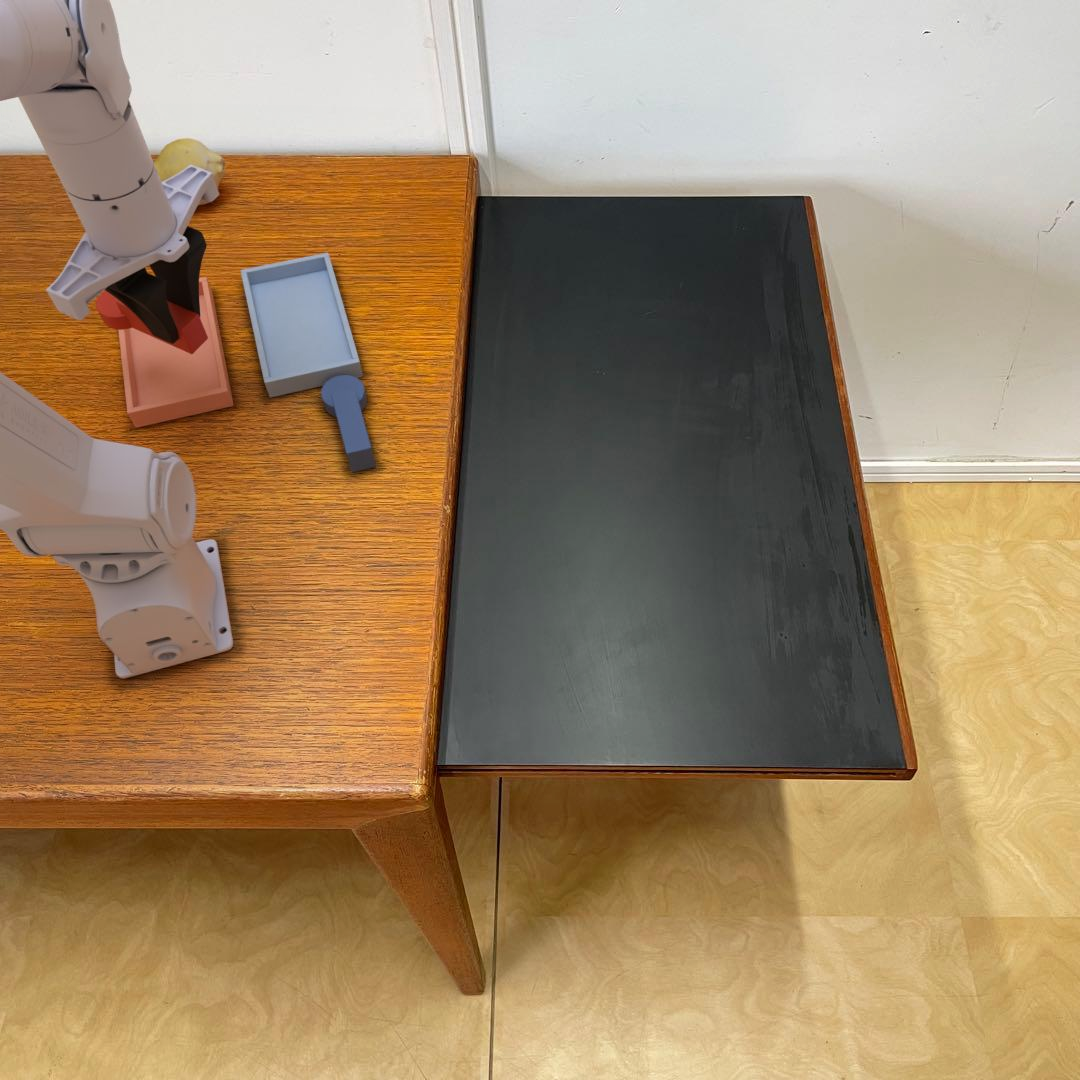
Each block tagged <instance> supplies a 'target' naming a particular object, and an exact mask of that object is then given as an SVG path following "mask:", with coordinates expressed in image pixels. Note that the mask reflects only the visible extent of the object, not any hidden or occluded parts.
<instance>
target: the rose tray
mask: <svg viewBox="0 0 1080 1080" xmlns="http://www.w3.org/2000/svg"><path fill="white" fill-rule="evenodd" d="M199 302H200V319H201V322H202V324H203V326H204V329H205V331H206V334H207V336H208V339H207V340H206V341H205V342H204V343H203V344H202V345H201V346H200V347H199V348H198V349H197V350H196V351H195V352H194V353H193V354H190V353H188V352H185V351H183V350H181V349H179V348H176V347H174V346H172V345H170V344H167V343H165V342H163V341H161V340H159V339H156V338H154V337H152V336H150V335H147V334H145V333H143V332H141V331H139V330H136V329H134V328H130V329H124V330H118V329H117V331H118V340H119V350H120V358H121V368H122V376H123V387H124V396H125V405H126V413H127V416H128V417H129V419H130V421H131V422H132V425H133V426H134V428H136V429H137V428H141V427H146V426H150V425H155V424H160V423H164V422H167V421H168V422H169V421H174V420H177V419H181V418H186V417H191V416H195V415H199V414H204V413H208V412H212V411H217V410H221V409H226V408H230V407H234V405H235V404H234V399H233V395H232V390H231V389H232V388H231V384H230V379H229V378H230V377H229V372H228V369H227V363H226V362H227V361H226V358H225V352H224V346H223V342H222V336H221V331H220V325H219V320H218V315H217V309H216V303H215V298H214V293H213V289H212V288H211V284H210V282H209V280H208V277H207V276H204V277H199Z"/></svg>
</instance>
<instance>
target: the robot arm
mask: <svg viewBox="0 0 1080 1080" xmlns="http://www.w3.org/2000/svg"><path fill="white" fill-rule="evenodd" d="M121 47H122V46H121V41H120V34H119V27H118V24H117V19H116V16H115V12H114V9H113V6H112V3H111V1H110V0H0V102H3V101H7V100H11V99H15V98H18V99H19V101H20V103H21V105H22V107H23V109H24V112H25V114H26V116H27V117H28V119H29V122H30V124H31V126H32V128H33V130H34V131H35V133H36V135H37V138H38V139H39V141H40V143H41V145H42V147H43V149H44V152H45V153H46V155H47V157H48V159H49V161H50V163H51V165H52V167H53V169H54V171H55V173H56V175H57V178H58V180H59V181H60V183H61V185H62V187H63V189H64V191H65V193H66V195H67V197H68V199H69V201H70V203H71V205H72V208H73V209H74V211H75V213H76V215H77V217H78V219H79V221H80V223H81V225H82V227H83V229H84V231H85V232H84V233H83V235H82V237H81V238H80V240H79V242H78V244H77V246H76V247H75V249H74V250H73V252H72V254H71V256H70V257H69V259H68V261H67V262H66V264H65V265H64V268H63V270H62V271H61V272H60V274H59V275H58V277H57V278H55V280H54V281H53V282H52V283H51V284H50V285H49V286H48V287H47V288H46V289H45V291H46V293H47V294H48V296H49V298H50V299H51V301H52V303H53V304H54V307H55V308H56V309H57V312H59V313H61V314H63V315H66V316H68V317H70V318H72V319H74V320H77V321H78V322H79V321H80V322H82V321H83V320H84V319H85V318H86V317H87V316H88V315H90V313H91V308H90V307H89V304H90V303H91V302H92V301H94V300H95V299H96V298H98V297H99V295H100V294H101V293H102V292H103V291H107V292H108V293H110V294H111V295H113V296H114V297H115V298H117V299H118V300H119V301H121V302H122V303H123V304H124V305H125V306H127V307H128V308H129V309H130V310H131V311H132V312H133V313H134V314H135V315H136V316H137V317H138V318H139V319H140V320H141V321H142V322H143V323H144V324H145V326H146V327H147V328H148V329H149V330H150V332H151V333H152V334H153V336H156V337H158V338H160V339H162V340H165V341H167V342H169V343H171V344H173V343H175V342H176V341H177V340H178V339H179V336H178V331H177V327H176V325H175V322H174V320H173V318H172V315H171V313H170V310H169V307H168V303H167V301H169V302H172V303H174V304H176V305H178V306H181V307H183V308H185V309H188V310H190V311H192V312H195V313H197V314H198V315H199V317H200V302H199V278H200V274H201V268H202V262H203V257H204V254H205V252H206V250H207V247H208V245H207V241H206V239H205V237H204V234H203V232H201V230H199V229H196V228H193V227H191V226H189V224H190V222H191V220H192V218H193V216H194V214H195V212H196V210H197V208H198V206H200V205H199V204H200V203H201V202H202V201H203V200H204V201H206V202H209V203H212V202H214V200H216V199H217V198H218V197H219V196H220V192H219V188H218V189H217V186H216V183H215V180H214V177H213V174H212V173H211V172H209V171H206V170H204V169H201V168H198V167H196V166H193V165H189V166H188V167H187V168H185V169H184V170H183V171H181V172H180V173H178V174H176V175H174V176H173V177H171V178H169V179H167V180H165V181H162V182H161V180H160V178H159V175H158V172H157V170H156V167H155V165H154V160H153V157H152V155H151V152H150V149H149V147H148V145H147V142H146V140H145V137H144V135H143V132H142V130H141V127H140V125H139V122H138V119H137V117H136V115H135V112H134V109H133V107H132V104H131V101H130V97H131V94H132V88H133V87H132V84H131V81H130V80H131V79H130V78H131V77H130V74H129V72H128V69H127V66H126V64H125V60H124V58H123V52H122V48H121ZM148 266H149V267H150V269H151V271H152V273H153V274H154V275H153V274H151V273H149V272H148V271H147V269H146V267H148ZM196 520H197V493H196V487H195V482H194V478H193V475H192V473H191V470H190V468H189V466H188V465H187V464H186V463H185V462H184V461H183V459H182V458H181V457H180V456H179V455H178V454H177V453H176V452H174V451H162V452H158V453H156V452H155V451H154V450H153V449H152V448H149V447H143V446H138V445H132V444H129V443H128V444H127V443H122V442H116V441H110V440H105V439H104V440H103V439H99V438H95V437H92V436H90V435H88V433H86V432H85V431H83V430H82V429H80V428H79V427H77V426H76V425H75V424H74V423H72V422H71V421H69V420H68V419H67V418H65V417H64V416H63V415H61V414H60V413H58V412H57V411H56V410H54V409H53V408H52V407H50V406H49V405H47V404H46V403H44V402H43V401H42V400H40V399H39V398H38V397H36V396H35V395H33V394H32V393H30V392H29V391H28V390H27V389H25V388H23V387H22V386H21V385H19V384H18V383H16V381H14V380H12V379H11V378H10V377H8V376H7V375H5V374H4V373H2V372H1V371H0V530H1V531H3V532H4V533H5V534H6V535H7V537H8V539H9V540H10V541H11V543H12V544H13V546H14V547H15V548H16V549H17V550H18V551H19V552H20V553H22V554H23V555H24V556H26V557H29V558H37V557H38V558H39V557H46V556H48V555H50V556H51V558H52V559H53V560H54V561H55V563H57V565H58V566H64V567H65V566H66V567H69V568H72V569H73V570H75V571H76V572H77V574H78V575H79V577H80V578H81V579H82V580H83V582H84V583H85V585H86V587H87V589H88V590H89V593H90V595H91V597H92V601H93V604H94V609H95V610H94V611H95V616H96V617H95V618H96V627H97V633H98V636H99V638H100V640H101V641H102V642H103V643H104V645H106V647H107V648H108V649H109V650H110V651H111V652H112V653H113V658H114V659H113V660H114V669H115V675H116V676H117V677H118V678H119V679H128V678H131V677H135V676H138V675H143V674H147V673H151V672H154V671H158V670H161V669H164V668H170V667H172V666H176V665H179V664H183V663H186V662H191V661H194V660H198V659H202V658H205V657H210V656H213V655H216V654H220V653H224V652H228V651H231V649H233V646H234V639H233V631H232V627H231V620H230V613H229V608H228V601H227V600H228V599H227V594H226V589H225V588H226V587H225V581H224V576H223V570H222V569H223V568H222V563H221V557H220V551H219V544H218V543H217V541H216V540H215V539H213V538H209V539H204V540H201V541H196V540H195V538H194V537H193V533H194V530H195V527H196ZM212 550H213V551H212ZM210 551H211V552H210ZM224 630H226V631H225V632H223V633H222V631H224Z"/></svg>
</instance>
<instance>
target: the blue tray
mask: <svg viewBox="0 0 1080 1080" xmlns="http://www.w3.org/2000/svg"><path fill="white" fill-rule="evenodd" d="M240 275H241V280H242V285H243V289H244V294H245V299H246V303H247V308H248V313H249V318H250V322H251V327H252V331H253V336H254V337H253V338H254V341H255V345H256V350H257V355H258V360H259V365H260V369H261V373H262V379H263V383H264V386H265V389H266V392H267V394H268V397H269V398H275V397H279V396H284V395H288V394H293V393H299V392H302V391H306V390H310V389H315V388H320V387H323V385H324V384H325V383H326V382H327V381H328V380H330V379H331V378H333V377H336V376H340V375H350V376H354V377H356V378H358V379H359V378H360V379H361V378H363V377H364V375H363V370H362V365H361V362H360V361H361V360H360V357H359V354H358V351H357V346H356V343H355V340H354V337H353V333H352V329H351V326H350V323H349V319H348V316H347V313H346V312H347V311H346V308H345V304H344V302H343V299H342V295H341V292H340V288H339V285H338V281H337V278H336V274H335V270H334V268H333V264H332V260H331V257H330V253H329V252H323V253H318V254H314V255H308V256H304V257H299V258H293V259H288V260H284V261H278V262H273V263H269V264H268V263H267V264H264V265H258V266H253V267H248V268H244V269H240Z"/></svg>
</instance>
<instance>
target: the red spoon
mask: <svg viewBox="0 0 1080 1080" xmlns="http://www.w3.org/2000/svg"><path fill="white" fill-rule="evenodd" d="M96 298H97V299H96V301H95V308H96V310H97V312H98V315H99V316H100V318H101V320H102V322H103V323H104V325H105V326H107V327H108V328H110V329H113V330H117V331H118V330H124V329H130V328H134V329H136V330H139V331H141V332H143V333H145V334H147V335H150V336H152V337H154V338H156V339H159V340H161V341H163V342H165V343H167V344H170V345H172V346H174V347H176V348H179V349H181V350H183V351H185V352H188V353H190V354H193V353H194V352H195V351H196V350H197V349H198V348H199V347H200V346H201V345H202V344H203V343H204V342H205V341H206V340H207V339H208V336H207V334H206V331H205V329H204V326H203V324H202V322H201V319H200V317H199V315H198V314H197V313H195V312H192V311H190V310H188V309H185V308H183V307H181V306H178V305H176V304H174V303H172V302H169V301H167V303H168V307H169V310H170V313H171V315H172V318H173V320H174V322H175V325H176V327H177V331H178V336H179V339H178V340H177V341H176V342H175V343H173V344H171V343H169V342H167V341H165V340H162V339H160V338H158V337H156V336H153V334H152V333H151V332H150V330H149V329H148V328H147V327H146V326H145V324H144V323H143V322H142V321H141V320H140V319H139V318H138V317H137V316H136V315H135V314H134V313H133V312H132V311H131V310H130V309H129V308H128V307H127V306H125V305H124V304H123V303H122V302H121V301H119V300H118V299H117V298H115V297H114V296H113V295H111V294H110V293H108V292H107V291H105V290H103V291H102V292H101V293H100V294H99V295H98V296H97V297H96Z"/></svg>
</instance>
